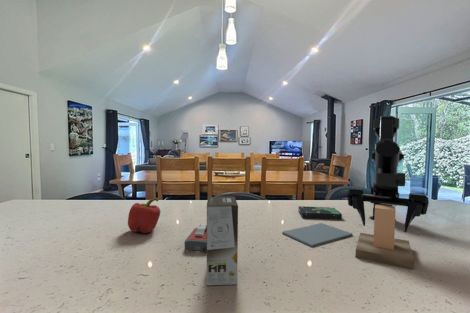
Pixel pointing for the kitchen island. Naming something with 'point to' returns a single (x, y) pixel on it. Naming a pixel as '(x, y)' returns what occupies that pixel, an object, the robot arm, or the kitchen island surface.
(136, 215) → the vegetable
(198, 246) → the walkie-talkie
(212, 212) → the coffee box
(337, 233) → the slate grey mat
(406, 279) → the kitchen island surface
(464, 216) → the kitchen island surface
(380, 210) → the terracotta block
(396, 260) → the plate
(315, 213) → the disk drive
